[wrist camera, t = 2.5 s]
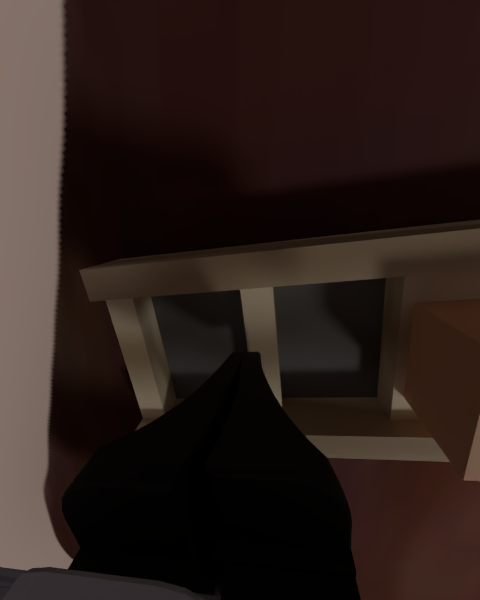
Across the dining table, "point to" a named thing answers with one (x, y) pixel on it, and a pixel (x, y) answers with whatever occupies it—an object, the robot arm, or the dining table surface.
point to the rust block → (447, 379)
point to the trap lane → (295, 326)
